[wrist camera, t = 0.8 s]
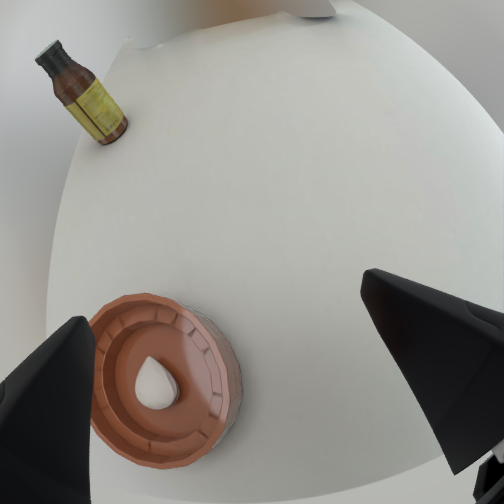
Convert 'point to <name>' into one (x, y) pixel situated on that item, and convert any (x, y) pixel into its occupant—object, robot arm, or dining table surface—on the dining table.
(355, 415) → the dining table surface
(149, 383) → the garlic clove
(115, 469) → the dining table surface
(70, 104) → the sauce bottle
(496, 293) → the dining table surface
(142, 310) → the bowl
